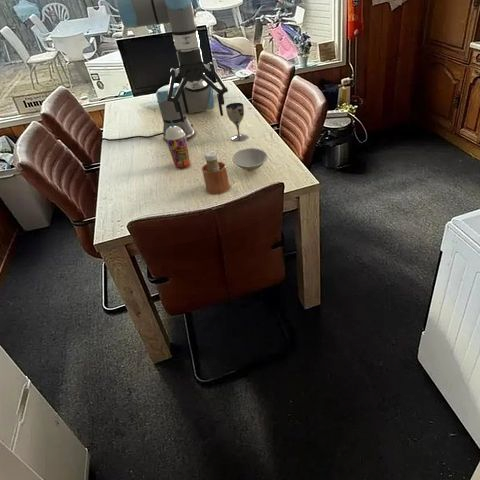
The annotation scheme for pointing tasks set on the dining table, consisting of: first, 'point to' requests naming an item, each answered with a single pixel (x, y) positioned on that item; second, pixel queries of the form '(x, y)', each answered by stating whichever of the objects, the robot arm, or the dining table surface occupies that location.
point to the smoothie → (177, 146)
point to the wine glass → (236, 117)
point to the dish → (249, 158)
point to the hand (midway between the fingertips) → (202, 117)
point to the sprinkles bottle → (211, 161)
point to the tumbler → (216, 179)
